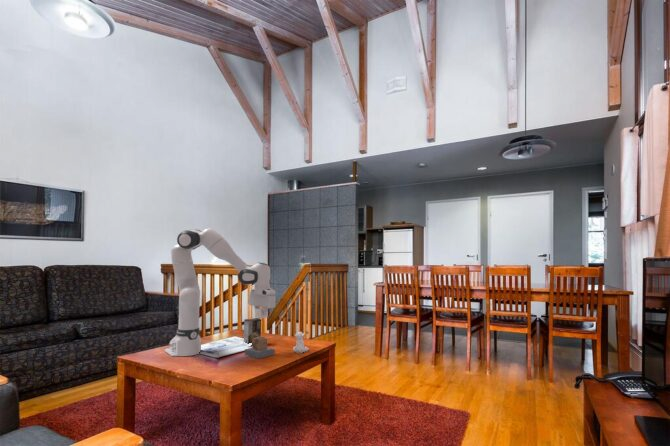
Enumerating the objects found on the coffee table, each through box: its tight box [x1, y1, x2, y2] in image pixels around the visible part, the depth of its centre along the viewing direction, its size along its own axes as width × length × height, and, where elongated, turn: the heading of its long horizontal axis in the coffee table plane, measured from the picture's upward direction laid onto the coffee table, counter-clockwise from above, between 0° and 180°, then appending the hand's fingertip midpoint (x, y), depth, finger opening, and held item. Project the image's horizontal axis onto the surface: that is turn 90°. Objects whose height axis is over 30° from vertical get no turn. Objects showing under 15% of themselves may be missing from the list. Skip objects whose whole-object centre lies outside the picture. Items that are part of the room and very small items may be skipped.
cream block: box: [254, 307, 268, 319], centre depth 218 cm, size 5×5×5 cm
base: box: [244, 346, 276, 360], centre depth 215 cm, size 12×12×3 cm
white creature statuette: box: [292, 331, 310, 354], centre depth 223 cm, size 10×9×12 cm
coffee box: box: [243, 317, 262, 344], centre depth 237 cm, size 9×6×16 cm
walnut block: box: [251, 336, 268, 351], centre depth 216 cm, size 6×6×6 cm
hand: (261, 314), depth 218 cm, fingers closed on cream block, 5 cm apart
